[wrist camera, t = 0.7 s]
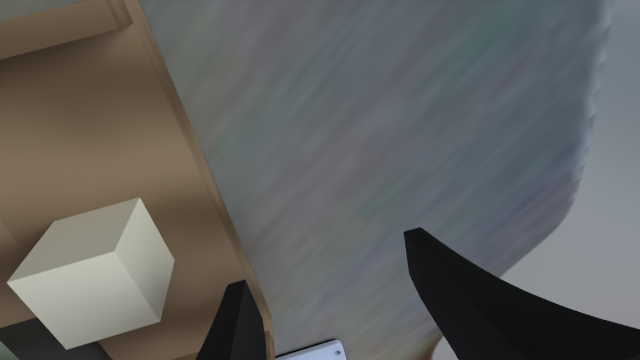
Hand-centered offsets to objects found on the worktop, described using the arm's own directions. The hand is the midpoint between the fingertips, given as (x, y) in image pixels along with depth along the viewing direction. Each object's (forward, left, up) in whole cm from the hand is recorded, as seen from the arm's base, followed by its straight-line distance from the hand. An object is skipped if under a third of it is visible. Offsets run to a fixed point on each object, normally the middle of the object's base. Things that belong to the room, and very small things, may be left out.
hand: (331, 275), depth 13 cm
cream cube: (0, +10, -6) cm, 11 cm away
